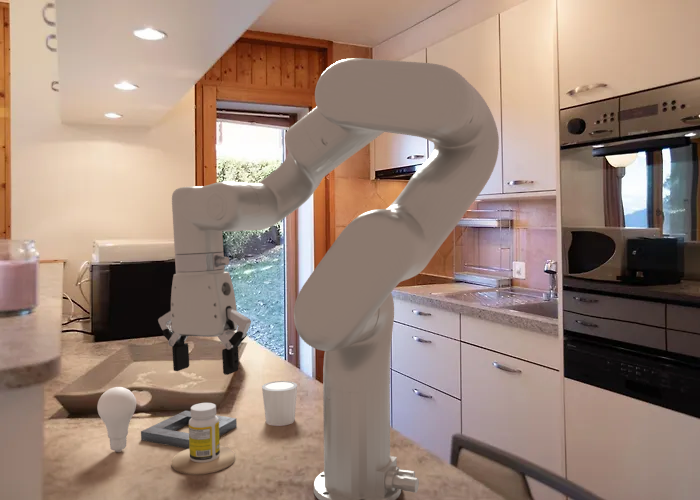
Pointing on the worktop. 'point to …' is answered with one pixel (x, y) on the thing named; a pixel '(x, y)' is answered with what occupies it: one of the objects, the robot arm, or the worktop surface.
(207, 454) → the supplement bottle
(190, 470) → the coaster
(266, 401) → the white cup
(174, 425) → the collar
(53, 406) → the worktop surface
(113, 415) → the lightbulb
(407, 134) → the robot arm
